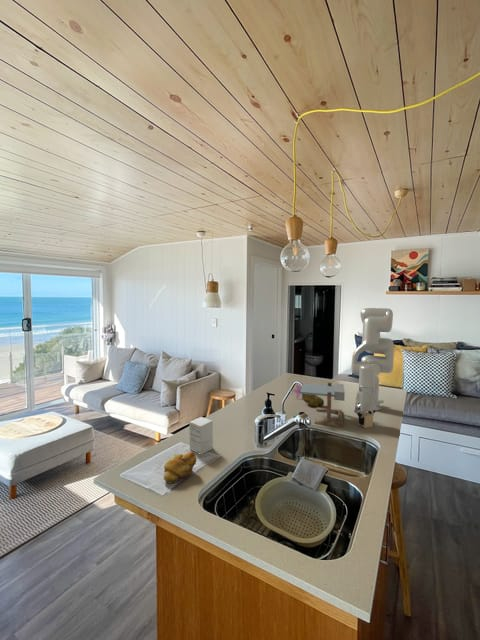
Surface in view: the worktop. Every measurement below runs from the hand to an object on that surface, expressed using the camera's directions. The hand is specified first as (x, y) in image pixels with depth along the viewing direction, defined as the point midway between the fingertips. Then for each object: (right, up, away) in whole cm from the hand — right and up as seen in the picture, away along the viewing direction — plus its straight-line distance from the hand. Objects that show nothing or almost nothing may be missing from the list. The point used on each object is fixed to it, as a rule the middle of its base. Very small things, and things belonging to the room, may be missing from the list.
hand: (365, 423), depth 160 cm
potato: (-21, +1, +29) cm, 36 cm away
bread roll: (-88, -4, -46) cm, 100 cm away
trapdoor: (-20, +13, +10) cm, 25 cm away
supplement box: (-82, -3, -26) cm, 86 cm away
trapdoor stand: (-16, 0, +10) cm, 19 cm away
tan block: (0, -1, 0) cm, 1 cm away
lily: (-25, +2, +43) cm, 50 cm away
